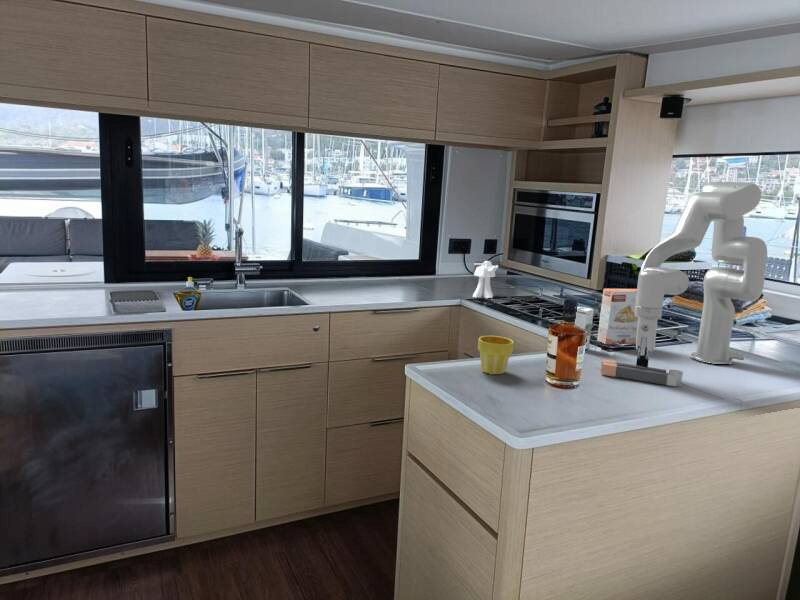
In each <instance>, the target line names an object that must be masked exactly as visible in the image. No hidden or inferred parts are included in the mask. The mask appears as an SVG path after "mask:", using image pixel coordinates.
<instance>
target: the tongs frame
mask: <svg viewBox="0 0 800 600" xmlns="http://www.w3.org/2000/svg"><path fill="white" fill-rule="evenodd" d="M601 365H602V372H601V371H600V372H601V373H600V375H603V376H608V377H613V378H623V379H628V380H634V381H641V382H645V383H651V384H652V383H653V384H657V385H664V386H670V387H676V386H680V385H681V386H682V380H683V374H684V372H683V371H682V370H678V369H669V370H668V372H666V373H663V372H657V371H651V370H644V369H638V368H632V367H625V366H619V365H617V364H613V363H607V362H603V364H602V363H601ZM681 386H680V387H681ZM676 388H677V387H676Z"/></svg>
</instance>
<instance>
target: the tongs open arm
mask: <svg viewBox="0 0 800 600" xmlns="http://www.w3.org/2000/svg"><path fill="white" fill-rule="evenodd" d="M603 362H607V363H613V364H617V365H619V366H625V367H632V368H638V369H644V370H651V371H657V372H663V373H667V369H663V368H657V367H650V366H648V367H645V366H638V365H636V364H630V363H624V362H617V360H611V359H606V358H605V359H604V358H603V359H602V361H601V366H600V367H601V368H600V372H602V364H603Z"/></svg>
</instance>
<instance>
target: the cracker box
mask: <svg viewBox="0 0 800 600" xmlns="http://www.w3.org/2000/svg"><path fill="white" fill-rule="evenodd" d="M636 294H637V288H603V290H602V299H601V308H600V315H599V324H598V330H597V339H596V342H597V341H600V342H602V343H604V344H612V343H619V344H636V334H637V324H638V317H636V316H634V313H635V304H636Z"/></svg>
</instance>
